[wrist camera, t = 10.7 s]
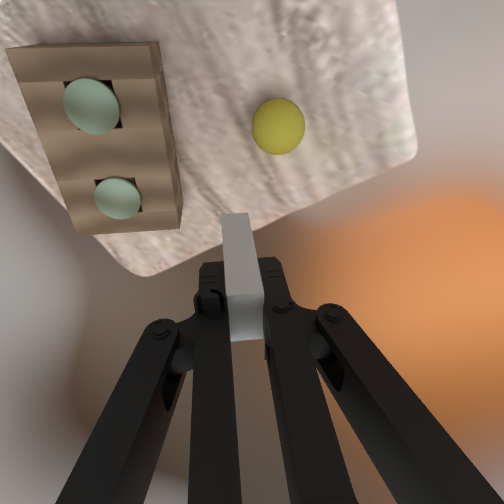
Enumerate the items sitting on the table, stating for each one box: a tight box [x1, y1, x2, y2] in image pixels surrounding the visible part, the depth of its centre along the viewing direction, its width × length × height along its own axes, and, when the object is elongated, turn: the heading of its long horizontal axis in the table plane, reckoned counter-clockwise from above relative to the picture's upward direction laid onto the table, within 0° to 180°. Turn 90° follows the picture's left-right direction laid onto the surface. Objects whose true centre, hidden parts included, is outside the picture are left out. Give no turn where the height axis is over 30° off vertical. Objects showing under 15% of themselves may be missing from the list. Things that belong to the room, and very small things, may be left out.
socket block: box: [5, 42, 183, 236], centre depth 42 cm, size 22×14×8 cm, turn 1°
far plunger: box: [94, 177, 141, 219], centre depth 44 cm, size 6×6×8 cm
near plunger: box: [63, 78, 120, 135], centre depth 38 cm, size 6×6×8 cm
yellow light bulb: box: [252, 98, 305, 155], centre depth 42 cm, size 7×7×10 cm
